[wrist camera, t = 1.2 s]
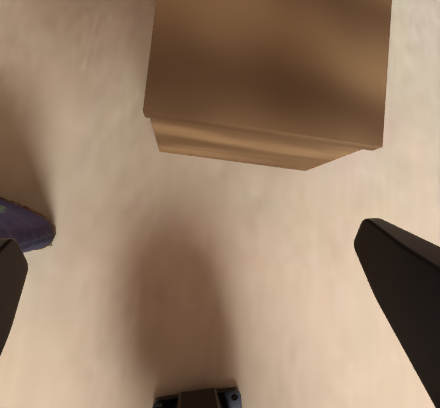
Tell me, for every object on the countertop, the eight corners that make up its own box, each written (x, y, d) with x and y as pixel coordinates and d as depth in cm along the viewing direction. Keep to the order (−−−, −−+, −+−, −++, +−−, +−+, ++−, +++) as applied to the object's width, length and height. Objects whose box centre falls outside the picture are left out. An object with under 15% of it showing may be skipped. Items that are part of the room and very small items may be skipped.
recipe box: (306, 173, 24) (382, 146, 15) (156, 154, 23) (142, 110, 14) (321, -11, 25) (400, -137, 16) (180, -43, 24) (181, -203, 15)
